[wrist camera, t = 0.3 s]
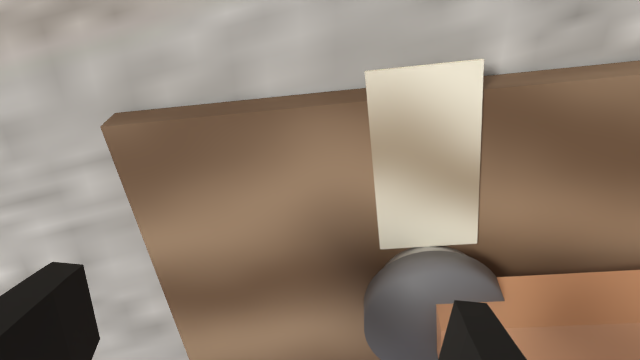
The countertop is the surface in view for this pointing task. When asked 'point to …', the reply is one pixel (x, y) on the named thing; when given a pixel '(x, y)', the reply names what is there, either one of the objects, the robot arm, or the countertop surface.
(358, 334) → the lock board
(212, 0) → the countertop surface
